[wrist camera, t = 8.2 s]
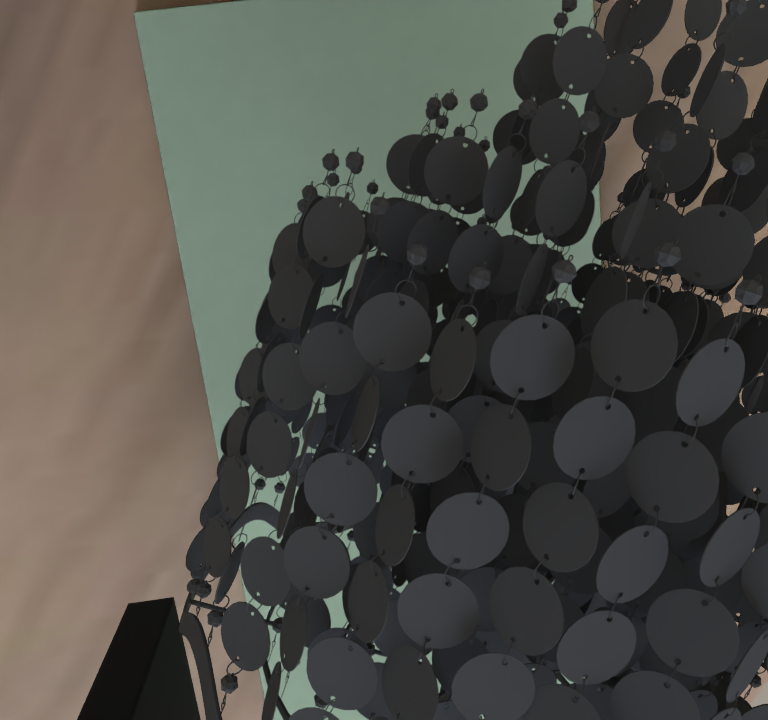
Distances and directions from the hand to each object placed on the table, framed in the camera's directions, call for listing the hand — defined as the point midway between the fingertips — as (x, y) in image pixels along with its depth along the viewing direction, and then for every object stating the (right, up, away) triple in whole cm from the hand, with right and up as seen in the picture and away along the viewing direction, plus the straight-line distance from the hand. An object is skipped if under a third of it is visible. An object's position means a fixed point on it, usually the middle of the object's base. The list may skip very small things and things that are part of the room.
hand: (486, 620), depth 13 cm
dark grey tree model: (-1, +1, +3) cm, 4 cm away
